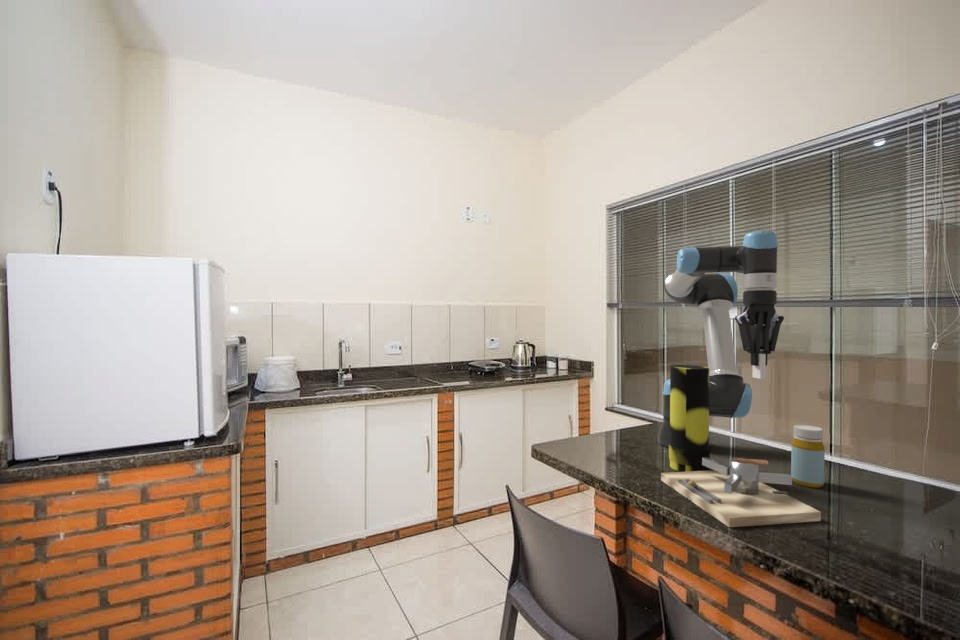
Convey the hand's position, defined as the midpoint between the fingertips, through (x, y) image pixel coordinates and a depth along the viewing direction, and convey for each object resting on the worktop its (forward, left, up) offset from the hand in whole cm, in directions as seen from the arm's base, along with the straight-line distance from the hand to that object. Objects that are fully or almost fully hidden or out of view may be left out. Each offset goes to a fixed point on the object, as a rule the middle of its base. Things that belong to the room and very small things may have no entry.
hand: (758, 377), depth 113 cm
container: (-12, -12, -29) cm, 33 cm away
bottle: (+2, +13, -29) cm, 31 cm away
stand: (+8, -14, -28) cm, 32 cm away
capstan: (+9, -10, -26) cm, 29 cm away
